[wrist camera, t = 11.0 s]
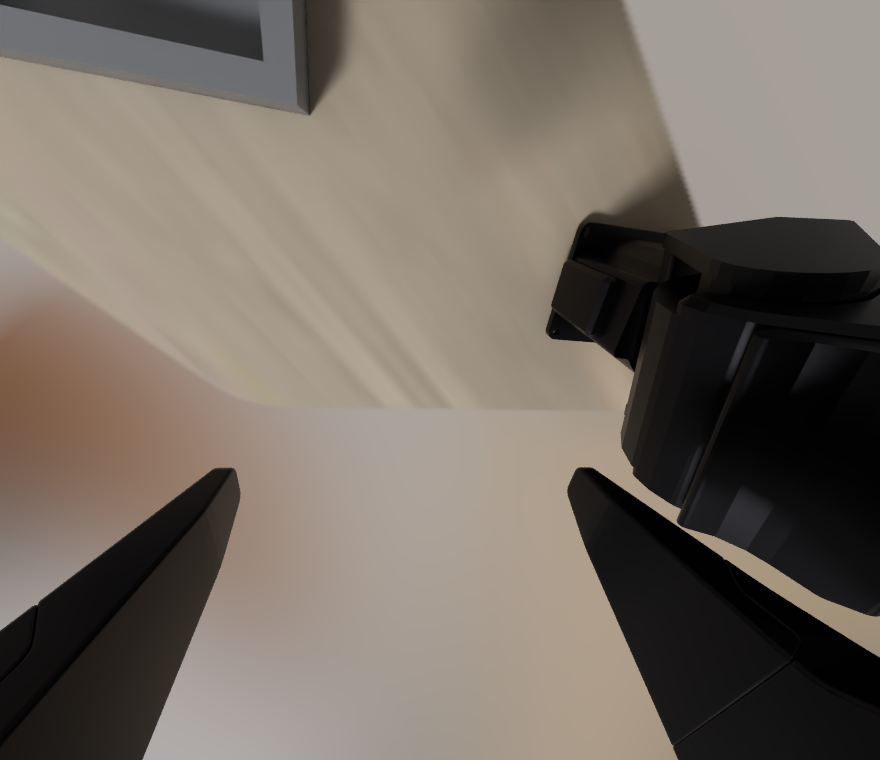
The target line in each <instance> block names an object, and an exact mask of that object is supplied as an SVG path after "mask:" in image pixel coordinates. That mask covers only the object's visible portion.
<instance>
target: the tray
mask: <svg viewBox="0 0 880 760" xmlns="http://www.w3.org/2000/svg"><path fill="white" fill-rule="evenodd" d="M0 56H1V57H6V58H12V59H17V60H22V61H27V62H33V63H38V64H43V65H48V66H53V67H59V68H64V69H69V70H74V71H80V72H85V73H90V74H95V75H100V76H106V77H111V78H116V79H121V80H127V81H132V82H137V83H142V84H147V85H153V86H158V87H163V88H168V89H174V90H179V91H184V92H189V93H194V94H200V95H205V96H210V97H215V98H221V99H226V100H231V101H236V102H241V103H247V104H252V105H257V106H262V107H268V108H273V109H278V110H283V111H288V112H294V113H299V114H304V115H309V116H310V109H309V80H308V51H307V22H306V0H0Z"/></svg>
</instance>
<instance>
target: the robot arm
mask: <svg viewBox="0 0 880 760" xmlns="http://www.w3.org/2000/svg"><path fill="white" fill-rule="evenodd" d="M588 228H589V229H590V233H589V235H588V236H586V237H585V231H586V229H588ZM551 306H552V311H551V314H550V318H549V321H548V324H547V327H546V333H547V335H548V336H549V337H550V338H552V339H558V340H571V341H583V342H595V343H597V344H598V345H600V346H601V347H602V348H603V349H605V350H606V351H607V352H609V353H610V354H611V355H612V356H614V357H615V358H616V359H618V360H619V361H620V362H621V363H623V364H624V365H625V366H626V367H628V368H629V369H630V370H632V371H633V372H634V378H633V382H632V386H631V391H630V395H629V399H628V404H627V405H626V408H625V413H624V415H625V417H624V421H623V426H622V430H621V444H622V449H623V451H624V453H625V454H626V456H627V458H628V460H629V462H630V464H631V465H632V466H633V467H634V468H633V475H634V476H635V477H636V478H637V479H638V480H639V481H640V482H641V483H642V484H643V485H644V486H645V487H647V488H648V489H649V490H650V491H652V492H653V493H655V494H656V495H658V496H659V497H661V498H662V499H664V500H665V501H667V502H669V503H670V504H672V505H674V506H676V507H678V508H680V509H681V511H680V514H679V516H678V518H677V523H678V524H679V525H680V526H682V527H684V528H687V529H691V530H694V531H698V532H701V533H705V534H708V535H712V536H715V537H717V538H720V539H722V540H724V541H726V542H728V543H730V544H733V545H735V546H737V547H739V548H742V549H744V550H746V551H748V552H749V553H751V554H753V555H754V556H756V557H758V558H759V559H761V560H763V561H765V562H766V563H768V564H770V565H771V566H773V567H774V568H776V569H777V570H779V571H780V572H782V573H783V574H785V575H786V576H788V577H790V578H791V579H793V580H794V581H796V582H797V583H799V584H800V585H802V586H803V587H805V588H806V589H808V590H810V591H811V592H813V593H814V594H816V595H818V596H819V597H821V598H824V599H826V600H828V601H831V602H834V603H837V604H839V605H842V606H845V607H847V608H850V609H853V610H855V611H858V612H860V613H863V614H866V615H869V616H880V246H879V245H878V244H877V243H876V242H875V241H874V240H873V239H872V238H871V237H870V236H869V235H868V234H867V233H866V232H865V231H864V230H863V229H862V228H860V227H859V226H858V225H857V224H856V223H855V222H854V221H850V220H835V219H812V218H811V219H810V218H789V217H773V218H766V219H759V220H752V221H743V222H736V223H729V224H721V225H714V226H707V227H699V228H692V229H685V230H677V231H670V232H666V233H665V234H664V233H658V232H652V231H645V230H639V229H633V228H626V227H620V226H614V225H607V224H601V223H595V222H584V223H582V224H581V225H580V226H579V227H578V229H577V232H576V235H575V238H574V241H573V244H572V248H571V251H570V254H569V257H568V260H567V261H566V262H565V263H564V265H563V269H562V272H561V275H560V278H559V281H558V285H557V288H556V291H555V294H554V297H553V301H552V304H551ZM557 327H558V329H557V331H556V332H555V333H553V330H554V329H555V328H557ZM567 491H568V492H567V493H568V497H569V500H570V503H571V507H572V510H573V513H574V516H575V518H576V522H577V525H578V528H579V531H580V534H581V537H582V539H583V542H584V545H585V548H586V550H587V552H588V555H589V557H590V560H591V562H592V564H593V566H594V568H595V571H596V573H597V575H598V578H599V580H600V582H601V584H602V587H603V589H604V591H605V594H606V596H607V598H608V601H609V602H610V605H611V607H612V609H613V612H614V614H615V616H616V619H617V621H618V623H619V626H620V628H621V630H622V632H623V634H624V637H625V639H626V641H627V644H628V646H629V648H630V651H631V653H632V655H633V657H634V660H635V662H636V664H637V666H638V668H639V671H640V673H641V676H642V678H643V680H644V682H645V685H646V687H647V689H648V692H649V694H650V696H651V698H652V701H653V703H654V705H655V707H656V710H657V712H658V714H659V717H660V719H661V721H662V723H663V726H664V728H665V730H666V732H667V735H668V737H669V739H670V741H671V744H672V745H673V746H674V747H673V749H674V751H675V753H676V755H677V758H678V760H880V657H878V656H876V655H875V654H873V653H871V652H870V651H868V650H866V649H865V648H863V647H861V646H860V645H858V644H857V643H855V642H853V641H852V640H850V639H848V638H847V637H845V636H844V635H842V634H841V633H839V632H837V631H836V630H834V629H832V628H831V627H829V626H828V625H826V624H824V623H823V622H821V621H820V620H818V619H816V618H815V617H813V616H812V615H810V614H808V613H807V612H805V611H803V610H802V609H800V608H799V607H797V606H795V605H794V604H792V603H791V602H789V601H788V600H786V599H785V598H783V597H781V596H780V595H778V594H776V593H775V592H774V591H772V590H770V589H769V588H767V587H766V586H764V585H763V584H761V583H759V582H758V581H757V580H755V579H754V578H752V577H751V576H749V575H748V574H746V573H745V572H743V571H742V570H740V569H739V568H738V567H736V566H735V565H733V564H732V563H730V562H729V561H727V560H724V559H723V557H721V556H720V555H719V554H717V553H716V552H714V551H713V550H711V549H710V548H708V547H707V546H705V545H704V544H703V543H701V542H699V541H698V540H697V539H695V538H694V537H692V536H691V535H689V534H688V533H687V532H685V531H684V530H682V529H681V528H679V527H678V526H676V525H675V524H673V523H672V522H670V521H669V520H667V519H666V518H665V517H663V516H662V515H660V514H659V513H657V512H656V511H654V510H653V509H652V508H650V507H649V506H647V505H646V504H644V503H643V502H641V501H640V500H639V499H637V498H636V497H634V496H633V495H631V494H630V493H628V492H627V491H625V490H624V489H622V488H621V487H619V486H618V485H617V484H615V483H614V482H612V481H611V480H609V479H608V478H606V477H605V476H604V475H602V474H601V473H599V472H598V471H596V470H595V469H593V468H590V467H584V468H583V467H580V468H577V469H576V471H575V473H574V475H573V477H572V479H571V481H570V484H569V486H568V490H567ZM239 501H240V488H239V483H238V478H237V473H236V470H235V469H234V468H215V469H213V470H211V471H210V472H209V473H207V474H206V475H205V476H204V477H202V478H201V479H199V480H198V481H197V482H196V483H194V484H193V485H192V486H190V487H189V488H188V489H186V490H185V491H184V492H182V493H181V494H180V495H178V496H177V497H176V498H175V499H174V500H172V501H171V502H169V503H168V504H167V505H166V506H164V507H163V508H161V509H160V510H159V511H157V512H156V513H155V514H153V515H152V516H151V517H150V518H148V519H147V520H146V521H144V522H143V523H142V524H140V525H139V526H138V527H137V528H135V529H134V530H132V531H131V532H130V533H128V534H127V535H126V536H125V537H123V538H122V539H121V540H119V541H118V542H117V543H115V544H114V545H113V546H111V547H110V548H109V549H107V550H106V551H105V552H103V553H102V554H101V555H100V556H98V557H97V558H96V559H94V560H93V561H92V562H90V563H89V564H88V565H86V566H85V567H84V568H82V569H81V570H80V571H79V572H77V573H76V574H75V575H73V576H72V577H71V578H69V579H68V580H67V581H66V582H64V583H63V584H61V585H60V586H59V587H57V588H56V589H55V590H54V591H52V592H51V593H50V594H48V595H47V596H46V597H44V598H43V599H42V600H41V601H40V602H39V603H38V605H34V606H32V607H31V608H30V609H28V610H27V611H26V612H24V613H23V614H22V615H20V616H19V617H18V618H16V619H15V620H14V621H12V622H11V623H10V624H9V625H7V626H6V627H5V628H3V629H2V630H0V760H142V759H143V757H144V754H145V752H146V749H147V747H148V744H149V742H150V740H151V737H152V734H153V732H154V730H155V727H156V725H157V722H158V720H159V717H160V715H161V712H162V710H163V708H164V705H165V703H166V700H167V698H168V695H169V693H170V691H171V688H172V686H173V683H174V681H175V678H176V676H177V673H178V671H179V668H180V666H181V664H182V661H183V658H184V656H185V654H186V651H187V649H188V646H189V644H190V641H191V639H192V636H193V634H194V632H195V629H196V627H197V624H198V622H199V619H200V617H201V614H202V612H203V610H204V607H205V605H206V602H207V600H208V597H209V595H210V592H211V590H212V587H213V585H214V583H215V580H216V578H217V575H218V572H219V570H220V567H221V564H222V561H223V558H224V554H225V551H226V548H227V544H228V540H229V537H230V533H231V530H232V526H233V523H234V519H235V516H236V512H237V509H238V505H239Z"/></svg>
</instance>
